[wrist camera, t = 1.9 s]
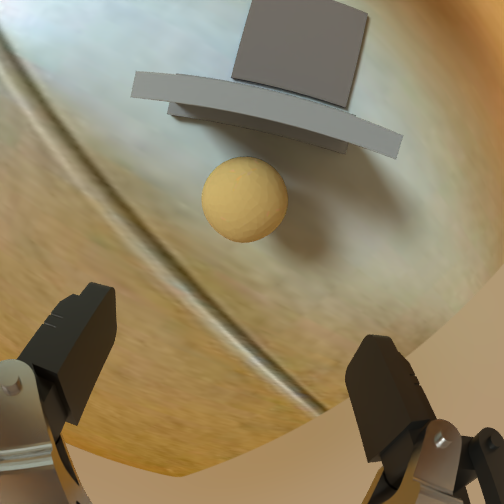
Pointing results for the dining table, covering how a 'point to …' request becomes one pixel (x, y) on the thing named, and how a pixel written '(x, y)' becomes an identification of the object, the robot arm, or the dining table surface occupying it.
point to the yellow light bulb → (244, 199)
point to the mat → (302, 47)
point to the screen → (264, 112)
